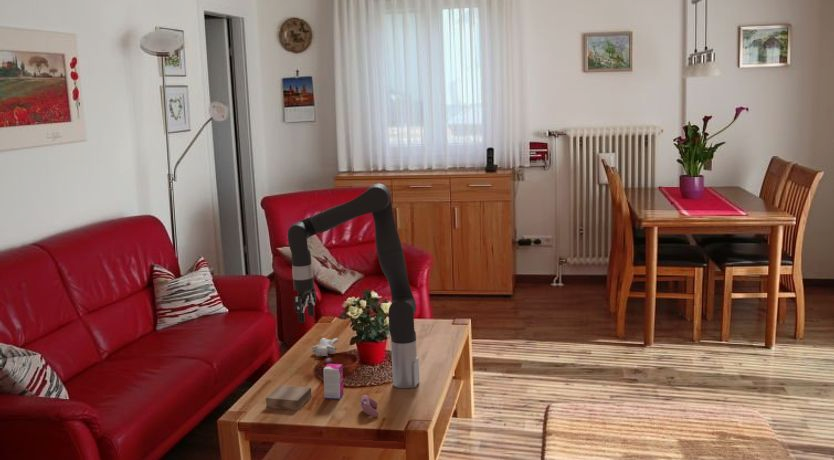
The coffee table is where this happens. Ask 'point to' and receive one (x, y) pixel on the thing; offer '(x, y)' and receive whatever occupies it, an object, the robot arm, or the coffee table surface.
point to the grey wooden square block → (288, 397)
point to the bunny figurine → (324, 347)
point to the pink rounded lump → (369, 406)
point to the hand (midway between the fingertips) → (306, 319)
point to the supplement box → (333, 381)
